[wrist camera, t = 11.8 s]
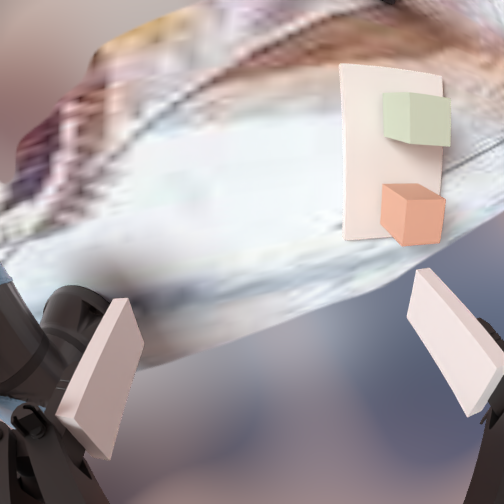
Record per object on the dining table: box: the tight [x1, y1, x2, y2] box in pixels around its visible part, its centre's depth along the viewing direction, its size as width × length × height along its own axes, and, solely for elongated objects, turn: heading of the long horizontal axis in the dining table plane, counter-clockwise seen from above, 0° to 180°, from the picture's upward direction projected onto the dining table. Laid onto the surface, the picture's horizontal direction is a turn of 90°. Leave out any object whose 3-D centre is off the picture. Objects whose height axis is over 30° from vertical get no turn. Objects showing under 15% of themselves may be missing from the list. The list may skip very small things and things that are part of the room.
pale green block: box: [382, 92, 451, 147], centre depth 28 cm, size 5×5×7 cm
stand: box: [339, 63, 446, 246], centre depth 31 cm, size 14×22×9 cm, turn 5°
